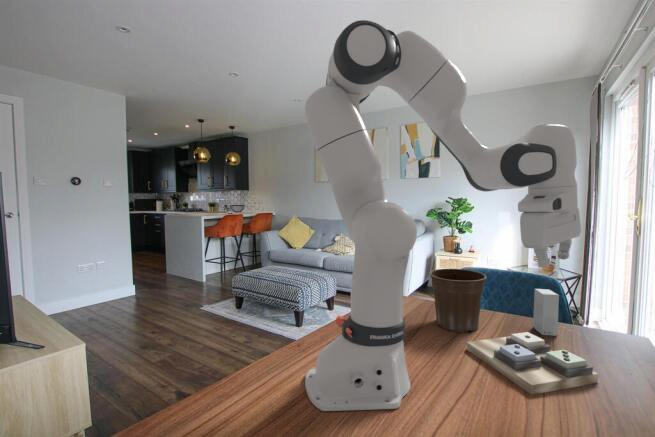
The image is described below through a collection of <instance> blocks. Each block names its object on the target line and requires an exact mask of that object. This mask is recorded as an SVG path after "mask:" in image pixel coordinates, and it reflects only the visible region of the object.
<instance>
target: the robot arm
mask: <svg viewBox="0 0 655 437" xmlns="http://www.w3.org/2000/svg"><path fill="white" fill-rule="evenodd" d="M378 86H380V87H385V88H389V89H391V90H392V91H394V92H395V93H397V94H398V95H399V96H400V98H402V100H404V102H406V103H407V105H408V106H410V108H412V110H414V111H415V113H416V114H418V116H420V118H421V119H422V120H423V121H424V122H425V123H426V125H427V126H428V127H429V129H430V131H431V132H432V133H433V134H434V136H435V137H436V138H437V139H438V141H440V143H441V144H442V145H443V146H444V147H445V149H447V151H448V152H449V153H450V154H451V155H452V157H453V158H455V160H456V161H457V162H458V164H459V165H460V167H461V168H462V170H463V172H464V175H465V177H466V179H467V182H468V183H469V185H470V186H472V187H473V188H474V189H475V190H477V191H481V192H485V193H486V192H494V191H498V190H511V189H522V188H526V187H527V194H526V195H525V196H524V197H523V198H522V199H521V200H520V201H518V202H517V203H518V204H517V209H518V213H521V214H520V216H519V218H520V219H519V225H520V227H519V229H520V239H521V243H522V246H523V247H524V248H525V249H526V248H527V249H533V252H534V254H535V257H536V258H537V266H538V267H539V268H549V266H550V265H551V259H550V257H548V252H549V247H551V246H554V245H557V244H559V245H558V246H559V247H558V250H557V252H556V253H557V259H559V260H567V259H569V258H570V250H571V247H572V243H573V242H572V241H573V240H572V239H576V238H578V237H580V235H581V231H582V227H581V226H582V225H581V216H580V210H579V207H578V206H579V205H578V183H577V180H576V177H575V175H576V174H575V171H576V168H577V164H578V163H577V162H578V161H577V159H578V158H577V145H576V139H575V137H574V133H573V131H572V128H570V127H569V126H566V125H564V124H559V123H556V124H555V123H552V124H541V125H536V126H534V127H532V128H530V130H529V131H528V132H527V133H525V135H523V136H522V137H520V138H518V139H516V140H515V141H511V142H510V143H507V144H505V145H502V146H499V147H494V148H491V147H487V146H485V145H482V143H481V142H480V141H479V140H478V139H477V138H476V136H475V135H474V134H473V133H472V131H470V129H468V127H467V126H466V125H465V124H464V121H463V119H462V115H461V114H462V113H461V112H462V108H463V106H464V104H465V102H466V99H467V98H466V97H467V94H468V93H467V91H468V83H467V80H466V79H465V77H464V75H463V73H462V72H461V71H460V69H459V68H458V67H457V66H456V65H455V64H454V63H453V62H452V61H451V60H450V59H449V58H448V57H447V55H445V54H444V53H443V52H442V51H440V50H439V49H438V48H437V47H436V46H435V45H434V44H432V43H431V42H429V41H428V40H427V39H425V38H423V37H422V35H419V34H417V33H416V32H413V31H410V30H406V31H405V30H404V31H402V32H399V33H397V34H396V33H395V32H394V31H393V30H390V29H387V28H386V27H384V26H383V25H380V24H379V23H377V22H375V21H371V20H364V19H362V20H356V21H353V22H351V23H349V24H348V25H347V26H346V27H344V29H343V30H342V31H341V32H340V33H339V36H338V37H337V39H336V40H335V42H334V46H333V51H332V53H331V55H330V57H329V61H328V68H327V74H326V81H325V85H323V86H322V87H320V88H318V89H316V90H315V91H313V92H312V93H311V94H310V95H309V96H308V97H307V99H306V101H305V105H304V113H305V118H306V122H307V126H308V130H309V133H310V137H311V139H312V142H313V146H314V148H315V150H316V153H317V155H318V157H319V160H320V162H321V165H322V168H323V169H324V173H325V175H326V177H327V180H328V182H329V185H330V187H331V190H332V192H333V195H334V199H335V202H336V205H337V207H338V211H339V213H340V216H341V219H342V222H343V225H344V228H345V230H346V233H347V235H348V237H349V239H350V240H351V242H352V243H354V258H353V260H354V261H353V268H352V276H351V279H350V314H349V316H348V318H346V319H345V317H344V316H342V315H338V316H336V318H335V323H336V325H337V326H338V327H339V328H341V334H339V336H337V338H335V339H334V340H333V341H331V342H329V343H328V344H327V345H326V346H325V347H324V348H322V349H320V351H319V353H318V355H317V358H316V364H315V367H314V368H310V369H309V370H308V371H307V373H306V374H305V380H304V387H305V392H306V394H307V395H306V396H307V397H308V399H309V401H310V402H311V403H312V405H314V406H315V407H316V408H317V409H318V410H320V411H322V412H336V411H337V412H338V411H339V412H341V411H366V410H367V411H371V410H394V409H399V408H400V406H401V404H402V400H403V397H404V396H405V397H406V395H407V394H408V393H409V392H410V389H411V386H412V385H411V380H410V377H409V373H408V369H407V364H406V356H405V345H404V344H405V341H406V319H405V317H404V284H405V276H406V272H407V266H408V262H409V258H410V251H411V250H412V249H414V245H415V244H416V240H417V239H418V238H417V237H418V236H417V235H418V230H417V229H418V228H417V224H416V222H415V220H414V218H413V217H412V215H411V214H410V213H409V212H408V211H407V210H405V209H404V208H403V207H402V206H401V205H399V204H396V203H393V202H389V201H388V198H387V194H386V190H385V186H384V181H383V174H382V165H381V163H380V160H379V158H378V155H377V153H376V152H377V151H376V150H375V147H374V145H373V142H372V140H371V137H370V135H369V132H368V130H367V127H366V125H365V123H364V120H363V117H362V114H361V108H360V104H363V102H365V101H366V99H368V98H369V96H370V94H372V92H374V91H375V90H376V88H378Z"/></svg>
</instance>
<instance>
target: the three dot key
mask: <svg viewBox="0 0 655 437" xmlns="http://www.w3.org/2000/svg"><path fill="white" fill-rule="evenodd" d="M546 358H547V359H549V360H551V361H552V362H554V363H556V364H558V365H560V366H562V367H564V368H565V369H567V370H569V369H575V368H581V367H586V364H587V360H586V358H585V359H584V358H583V357H580V356H578V355H576V354H574V353H572V352H570V351H568V350H566V349H559V350H552V351H551V352H546Z"/></svg>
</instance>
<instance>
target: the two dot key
mask: <svg viewBox="0 0 655 437" xmlns="http://www.w3.org/2000/svg"><path fill="white" fill-rule="evenodd" d="M500 353H502V354H503V355H505V356H507V357H508V358H510V359H511V360H513V361H515V362H516V363H518V362H525V361H531V360H535V353H533V352H531V351H529V350H528V349H526V348H524V347H522V346H520V345H518V344H514V345H506V346H500Z"/></svg>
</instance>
